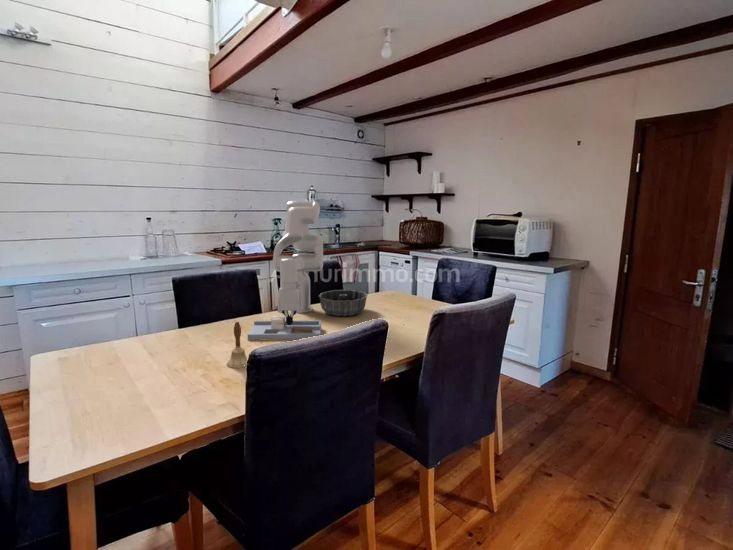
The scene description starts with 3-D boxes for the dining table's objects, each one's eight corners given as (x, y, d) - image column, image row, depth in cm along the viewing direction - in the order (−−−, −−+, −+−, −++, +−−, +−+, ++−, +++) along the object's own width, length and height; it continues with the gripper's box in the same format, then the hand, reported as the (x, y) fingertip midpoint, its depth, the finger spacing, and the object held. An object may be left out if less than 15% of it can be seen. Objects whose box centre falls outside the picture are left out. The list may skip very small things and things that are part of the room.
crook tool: (292, 330, 174) (292, 327, 174) (312, 330, 175) (312, 327, 175) (291, 332, 171) (291, 329, 171) (312, 332, 172) (312, 329, 172)
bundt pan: (310, 316, 206) (310, 297, 204) (329, 304, 231) (329, 287, 229) (358, 321, 198) (358, 302, 197) (372, 308, 223) (373, 291, 221)
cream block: (272, 325, 181) (272, 316, 180) (284, 325, 182) (284, 315, 181) (271, 329, 176) (270, 319, 175) (283, 329, 176) (283, 319, 176)
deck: (254, 329, 183) (254, 320, 182) (321, 328, 186) (321, 320, 185) (247, 340, 168) (247, 331, 168) (320, 339, 171) (320, 330, 170)
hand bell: (255, 362, 146) (253, 321, 143) (237, 370, 139) (235, 327, 136) (239, 357, 150) (237, 317, 147) (221, 364, 143) (219, 323, 140)
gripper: (306, 283, 181) (306, 322, 184) (273, 283, 179) (274, 322, 183) (305, 287, 173) (305, 327, 177) (270, 287, 172) (271, 327, 175)
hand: (289, 324), depth 180 cm, fingers closed
